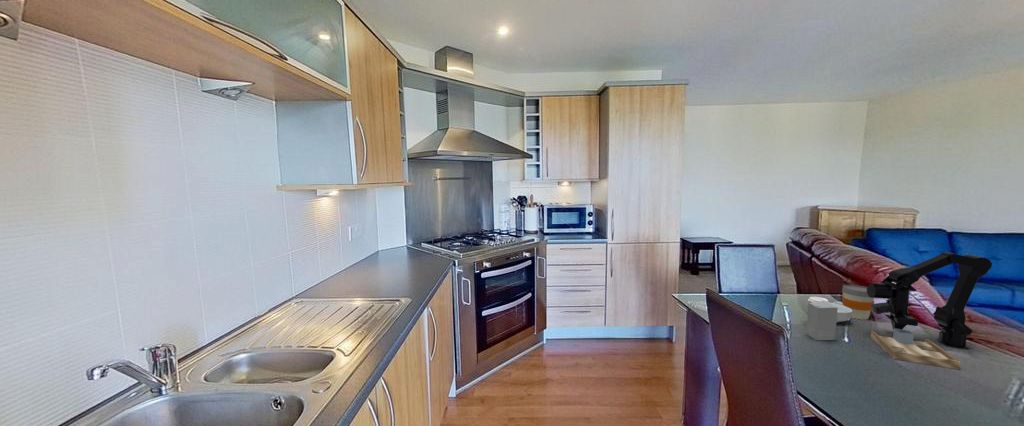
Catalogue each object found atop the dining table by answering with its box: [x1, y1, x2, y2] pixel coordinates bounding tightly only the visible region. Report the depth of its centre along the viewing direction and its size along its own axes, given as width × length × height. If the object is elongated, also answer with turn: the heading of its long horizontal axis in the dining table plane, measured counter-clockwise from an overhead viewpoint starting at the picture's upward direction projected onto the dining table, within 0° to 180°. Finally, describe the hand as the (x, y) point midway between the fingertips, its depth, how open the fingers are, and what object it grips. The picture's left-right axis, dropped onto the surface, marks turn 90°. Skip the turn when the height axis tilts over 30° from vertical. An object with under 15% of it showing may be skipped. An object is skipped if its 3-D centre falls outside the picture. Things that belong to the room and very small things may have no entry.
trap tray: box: [870, 330, 961, 370], centre depth 146 cm, size 18×22×3 cm
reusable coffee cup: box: [841, 284, 875, 320], centre depth 184 cm, size 13×13×15 cm
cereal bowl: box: [829, 302, 852, 323], centre depth 181 cm, size 17×17×7 cm
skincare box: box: [805, 301, 838, 341], centre depth 159 cm, size 8×7×16 cm
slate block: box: [892, 328, 915, 344], centre depth 152 cm, size 4×4×4 cm
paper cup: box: [807, 296, 830, 303], centre depth 172 cm, size 8×8×14 cm
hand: (896, 333), depth 158 cm, fingers closed
